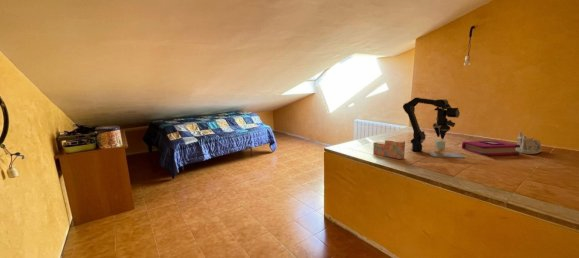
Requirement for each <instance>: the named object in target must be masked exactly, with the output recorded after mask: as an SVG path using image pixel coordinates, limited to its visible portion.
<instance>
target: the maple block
mask: <svg viewBox="0 0 579 258" xmlns="http://www.w3.org/2000/svg"><path fill="white" fill-rule="evenodd" d="M445 151H446V148H445V149H444V148H436V147H435V146H434V152H435V154H436V155H444V153H446V152H445Z"/></svg>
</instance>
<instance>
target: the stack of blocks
mask: <svg viewBox="0 0 579 258" xmlns="http://www.w3.org/2000/svg"><path fill="white" fill-rule="evenodd" d="M405 150H406V140H401V139H393V138H392V139H390V138H389V139H385V140H384V141H375V142H373V152H372V153H373V155H376V156H382V157H387V158H394V159H398V160H402V159H404V158H405V152H406V151H405Z"/></svg>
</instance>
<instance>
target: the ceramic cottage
mask: <svg viewBox="0 0 579 258" xmlns="http://www.w3.org/2000/svg"><path fill="white" fill-rule="evenodd" d="M516 144H517V145H520V147H517V148H516V150H515V151H516V152H519V154H526V155H527V154H528V155H535V154H538V153H541V152H543V150H542V148H541V146H542V145H541V144H542V143H541V141H540V140H539V139H534V137H533V136H531V137H528V136H527V135H525V134H523V132H522V131H519V133H518V136H517V137H516Z"/></svg>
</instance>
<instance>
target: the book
mask: <svg viewBox="0 0 579 258" xmlns="http://www.w3.org/2000/svg"><path fill="white" fill-rule="evenodd" d="M517 147H520V145H517V143H516V144H515V143H512V142H511V143H510V142H506V141H502V140H475V141H473V140H472V141H463V142H462V143H461V149H463V150H465V151H467V152H470V153H474V154H477V155H479V156H484V157H485V156H486V157H489V156H491V157H492V156H495V157H496V156H512V155H513V156H520V152H518V151H516V148H517Z"/></svg>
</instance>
